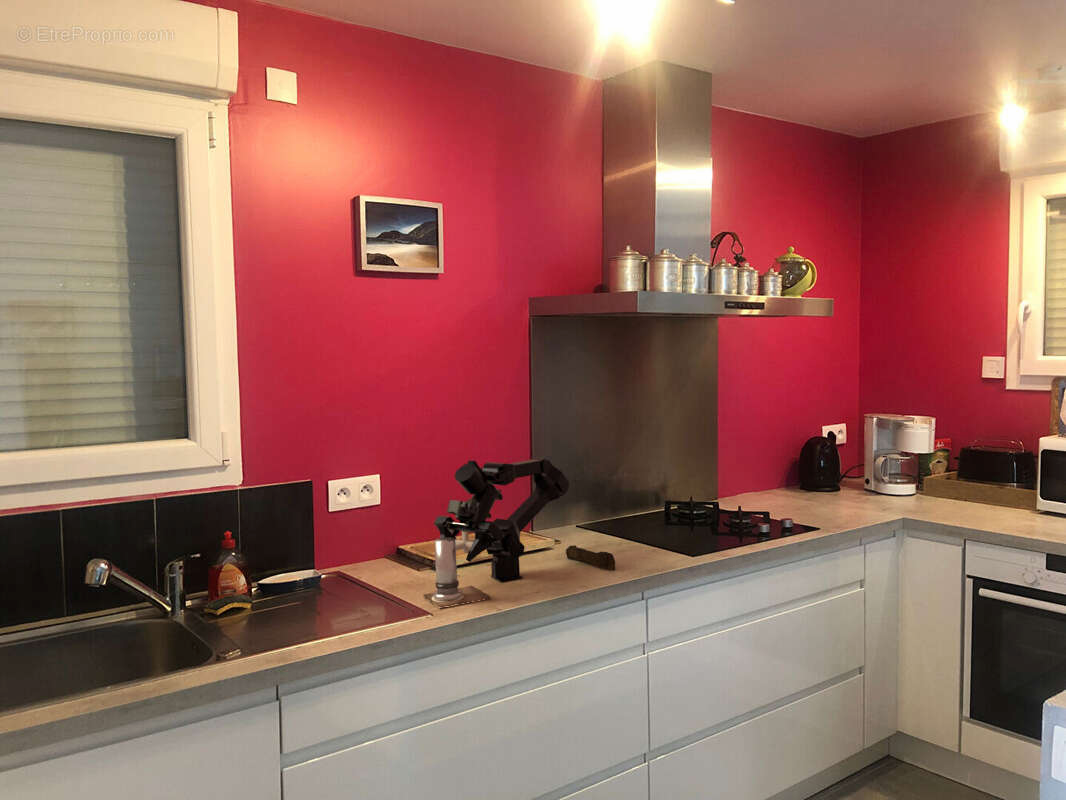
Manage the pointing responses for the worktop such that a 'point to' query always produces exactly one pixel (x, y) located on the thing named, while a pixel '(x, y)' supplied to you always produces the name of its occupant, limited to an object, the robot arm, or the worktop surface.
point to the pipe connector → (464, 543)
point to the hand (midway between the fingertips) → (453, 558)
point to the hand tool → (592, 557)
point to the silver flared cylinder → (446, 570)
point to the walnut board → (467, 596)
